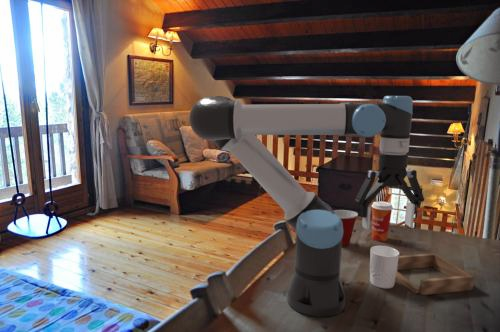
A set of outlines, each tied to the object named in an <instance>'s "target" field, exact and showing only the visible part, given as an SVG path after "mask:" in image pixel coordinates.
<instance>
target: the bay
mask: <svg viewBox="0 0 500 332" xmlns="http://www.w3.org/2000/svg"><path fill="white" fill-rule="evenodd" d="M431 267H432V268H434V269H436V270H437V271H439V272H440V273H442V274H443V275H445V276H444V277H433V278H422V279H420V283H419V287H418V286H417V285H415V284H414V283H413V282H412V281H411V280H409V279H408V278H407V277H405V276H404V275H403V274H401V273H400V272H399V270H409V269H411V270H412V269H419V268H420V269H421V268H431ZM395 279H396V280H398V281H399V282H400V283H401V284H403V285H404V286H406V288H408V289H409V290H410V291H411V292H412V293H413V294H420V295H421V296H424V295H425V296H427V295H435V294H446V293H454V292H464V291H466V292H467V291H473V289H474V288H473V287H474V281H475V280H474V279H475V277H474V276H473V275H472V274H470V273H468V272H467V271H466V270H463V269H462V268H461V267H459V266H457V265H456V264H453V263H452V262H451V261H449V260H447V259H446V258H444V257H442V256H441V255H439V254H437V253H435V252H432V253H422V254H421V253H420V254H408V255H407V254H406V255H399V260H398V267H397V272H396V277H395Z"/></svg>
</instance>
